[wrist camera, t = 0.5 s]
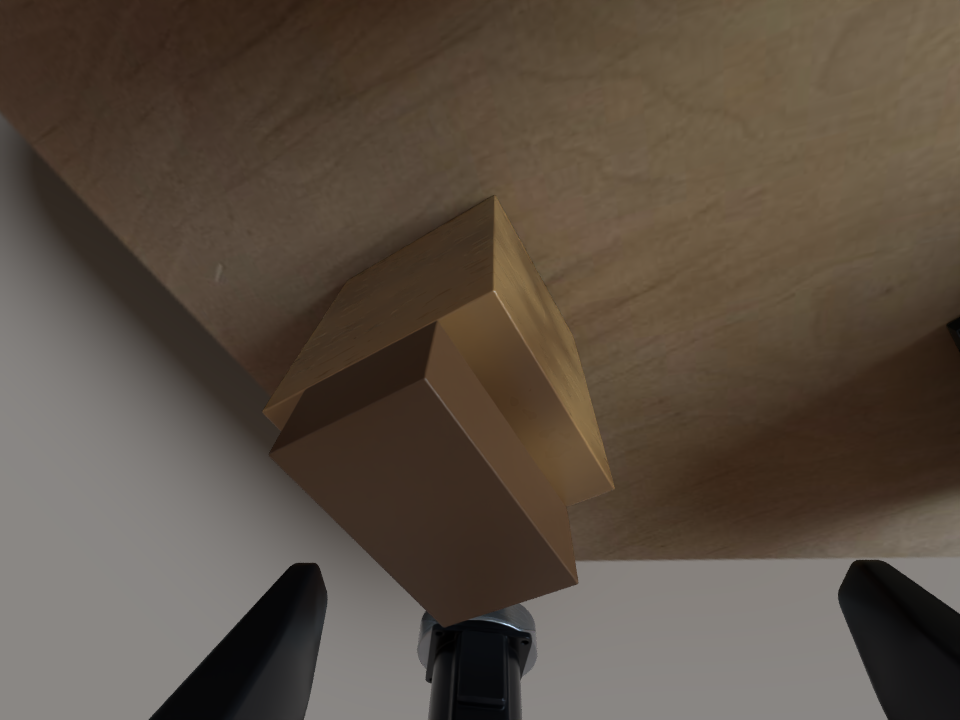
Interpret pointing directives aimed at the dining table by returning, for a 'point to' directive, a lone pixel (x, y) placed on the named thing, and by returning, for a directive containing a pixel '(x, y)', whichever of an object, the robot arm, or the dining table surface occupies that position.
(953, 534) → the dining table surface
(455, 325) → the stand
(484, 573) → the brown block
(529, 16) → the dining table surface
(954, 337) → the trash bin
